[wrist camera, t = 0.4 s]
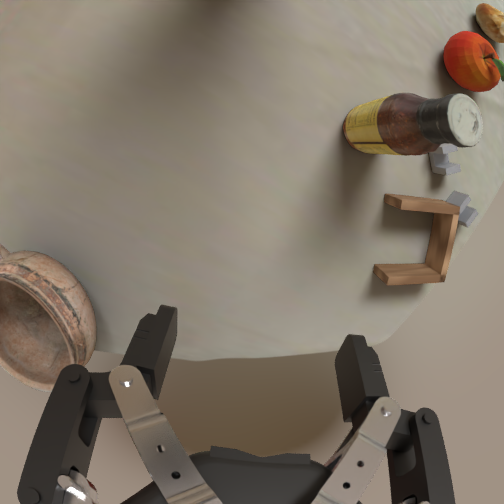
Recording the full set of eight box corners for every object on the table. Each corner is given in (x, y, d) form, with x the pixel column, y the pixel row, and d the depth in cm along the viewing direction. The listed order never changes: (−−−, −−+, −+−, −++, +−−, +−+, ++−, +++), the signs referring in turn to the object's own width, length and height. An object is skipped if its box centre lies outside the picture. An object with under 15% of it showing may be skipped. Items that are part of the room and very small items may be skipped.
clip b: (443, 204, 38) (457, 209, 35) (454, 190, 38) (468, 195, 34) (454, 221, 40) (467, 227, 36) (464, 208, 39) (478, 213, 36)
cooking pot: (142, 346, 42) (123, 403, 31) (61, 367, 43) (35, 413, 32) (63, 195, 34) (9, 218, 22) (-11, 245, 35) (-57, 274, 23)
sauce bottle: (391, 135, 35) (504, 143, 16) (359, 162, 36) (466, 186, 17) (363, 95, 33) (470, 69, 14) (329, 121, 34) (425, 105, 15)
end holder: (385, 193, 37) (402, 200, 33) (441, 200, 38) (460, 206, 34) (373, 271, 41) (387, 285, 37) (428, 270, 42) (444, 282, 38)
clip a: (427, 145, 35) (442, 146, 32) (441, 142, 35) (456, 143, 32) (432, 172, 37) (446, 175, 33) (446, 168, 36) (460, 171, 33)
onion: (470, -1, 26) (497, -11, 18) (497, 28, 27) (525, 22, 20) (464, 22, 28) (494, 12, 20) (493, 52, 29) (523, 48, 22)
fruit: (459, 35, 29) (499, 23, 19) (481, 87, 32) (524, 85, 23) (423, 41, 30) (465, 26, 20) (448, 99, 33) (494, 96, 23)
